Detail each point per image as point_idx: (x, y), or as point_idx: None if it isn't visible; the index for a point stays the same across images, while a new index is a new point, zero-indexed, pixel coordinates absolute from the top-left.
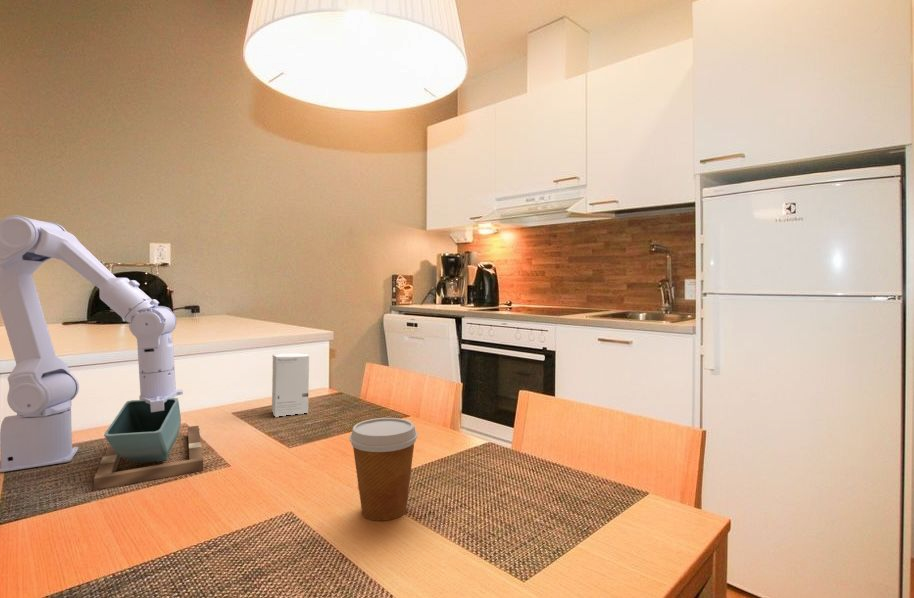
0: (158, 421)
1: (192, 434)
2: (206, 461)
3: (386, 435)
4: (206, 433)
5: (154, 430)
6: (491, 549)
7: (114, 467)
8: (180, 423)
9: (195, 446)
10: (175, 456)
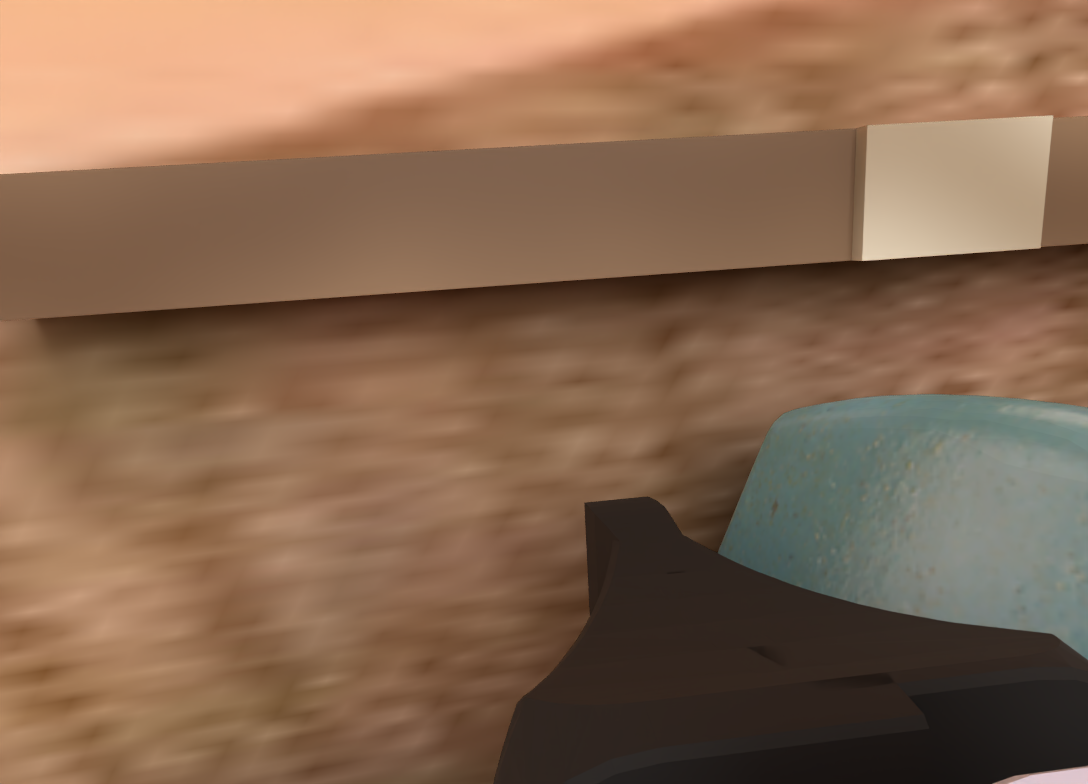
0: None
1: (395, 242)
2: (1081, 90)
3: None
4: (15, 90)
5: None
6: None
7: None
8: (1037, 401)
9: (1006, 182)
10: (773, 374)
